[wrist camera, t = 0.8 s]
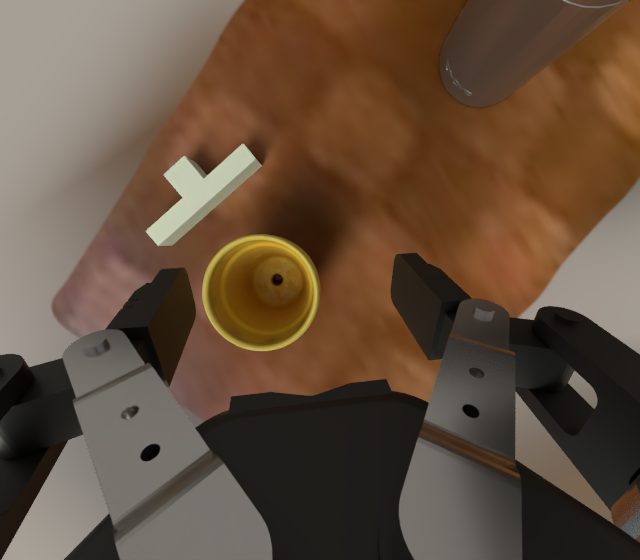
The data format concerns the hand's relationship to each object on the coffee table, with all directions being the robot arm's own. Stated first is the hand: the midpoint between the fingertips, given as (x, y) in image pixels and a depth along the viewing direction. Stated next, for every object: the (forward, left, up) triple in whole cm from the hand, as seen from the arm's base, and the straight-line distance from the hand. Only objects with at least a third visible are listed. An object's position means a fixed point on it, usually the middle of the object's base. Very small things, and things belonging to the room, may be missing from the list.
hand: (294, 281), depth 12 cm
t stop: (+5, -14, -24) cm, 28 cm away
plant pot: (+5, 0, -24) cm, 24 cm away
